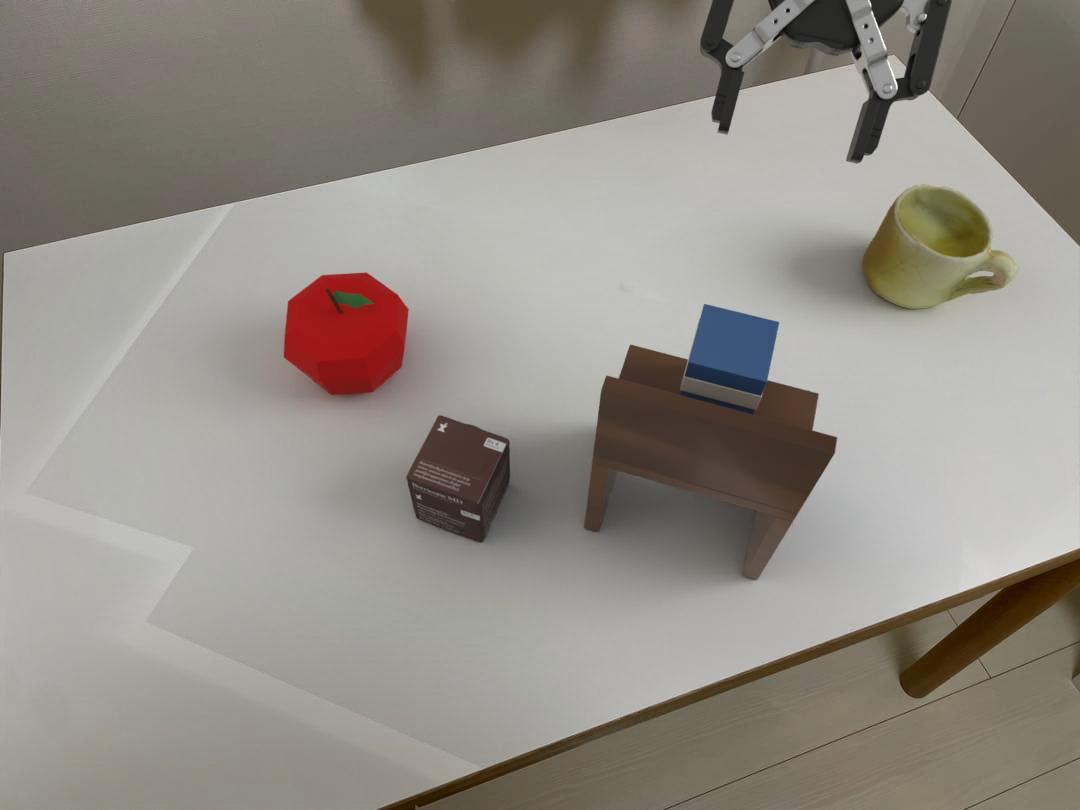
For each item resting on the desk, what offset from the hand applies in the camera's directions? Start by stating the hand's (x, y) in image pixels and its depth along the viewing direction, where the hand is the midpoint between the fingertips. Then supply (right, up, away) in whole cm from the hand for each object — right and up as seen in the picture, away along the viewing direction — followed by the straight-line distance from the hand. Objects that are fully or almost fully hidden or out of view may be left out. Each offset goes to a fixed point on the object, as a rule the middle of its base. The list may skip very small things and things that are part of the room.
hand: (787, 147), depth 55 cm
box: (-22, -25, +14) cm, 36 cm away
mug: (+21, -5, +27) cm, 35 cm away
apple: (-33, -13, +22) cm, 41 cm away
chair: (-4, -25, +14) cm, 29 cm away
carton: (-4, -16, +5) cm, 18 cm away
